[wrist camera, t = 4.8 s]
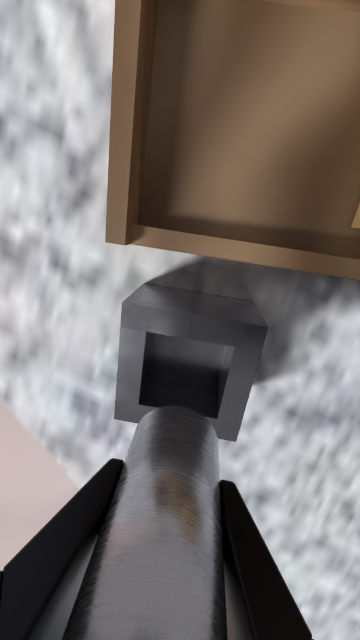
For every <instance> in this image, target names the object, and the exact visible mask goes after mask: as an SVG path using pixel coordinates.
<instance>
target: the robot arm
mask: <svg viewBox="0 0 360 640" xmlns="http://www.w3.org/2000/svg"><path fill="white" fill-rule="evenodd" d="M123 465H124V461H123V460H119V459H114V458H112V459H110V460H109V461H108V462H107V463H106V464H105V465H104V466H103V467H102V468H101V469H100V470H99V471H98V472H97V473H96V474H95V475H94V476H93V477H92V478H91V479H90V480H89V481H88V482H87V483H86V484H85V485H84V486H83V487H82V488H81V489H80V490H79V491H78V492H77V493H76V494H75V495H74V497H72V498H71V500H70V501H69V502H68V503H67V504H66V505H65V506H64V507H63V508H62V509H61V510H60V511H59V512H58V513H57V514H56V515H55V516H54V517H53V518H52V519H51V520H50V521H49V522H48V523H47V524H46V525H45V526H44V527H43V528H42V529H41V530H40V531H39V532H38V533H37V534H36V535H35V536H34V537H33V538H32V539H31V540H30V541H29V542H28V543H27V544H26V545H25V546H24V547H23V548H22V549H21V551H19V552H18V553H17V554H16V556H15V557H14V558H13V559H12V560H11V561H10V562H9V563H8V564H7V565H6V566H5V567H4V569H3V571H0V640H62V637H63V634H64V631H65V628H66V626H67V623H68V620H69V617H70V614H71V611H72V609H73V606H74V603H75V600H76V597H77V595H78V592H79V589H80V586H81V583H82V580H83V578H84V575H85V572H86V569H87V566H88V563H89V561H90V558H91V555H92V552H93V549H94V547H95V544H96V541H97V538H98V535H99V532H100V530H101V527H102V524H103V521H104V518H105V516H106V513H107V510H108V507H109V504H110V502H111V499H112V496H113V493H114V490H115V487H116V485H117V482H118V479H119V476H120V473H121V471H122V468H123ZM220 496H221V516H222V536H223V556H224V576H225V596H226V616H227V636H228V640H314V639H312V634H311V632H310V630H309V628H308V626H307V624H306V622H305V620H304V618H303V616H302V614H301V612H300V610H299V608H298V606H297V604H296V603H295V601H294V599H293V597H292V595H291V593H290V591H289V589H288V587H287V585H286V583H285V581H284V579H283V577H282V575H281V573H280V571H279V569H278V567H277V565H276V563H275V561H274V559H273V557H272V556H271V554H270V552H269V550H268V548H267V546H266V544H265V542H264V540H263V538H262V536H261V534H260V532H259V530H258V528H257V526H256V524H255V522H254V520H253V518H252V516H251V514H250V512H249V510H248V508H247V507H246V505H245V503H244V501H243V499H242V497H241V495H240V493H239V491H238V489H237V487H236V485H235V483H233V482H232V481H227V480H221V481H220Z"/></svg>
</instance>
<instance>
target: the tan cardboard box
mask: <svg viewBox="0 0 360 640" xmlns="http://www.w3.org/2000/svg"><path fill="white" fill-rule="evenodd" d="M351 228H357V229H360V203H359V206H358V209H357V212H356V215H355V217H354V220H353V223H352V226H351Z"/></svg>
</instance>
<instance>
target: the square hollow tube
mask: <svg viewBox="0 0 360 640" xmlns="http://www.w3.org/2000/svg"><path fill="white" fill-rule="evenodd" d="M267 330H268V325H267V324H266V322H265V321H264V319H263V318H262V316H261V314H260V313H259V311H258V310H257V308H256V306H255V305H254V303H253V302H252V301H247V300H241V299H235V298H229V297H222V296H216V295H210V294H204V293H198V292H192V291H186V290H180V289H174V288H168V287H161V286H155V285H149V284H143V285H141V286H140V287H139V288H138V289H137V290H136V291H135V292H134V293H132V294H131V295H130V296H129V297H128V298H127V299H126V300H124V301H123V302H122V313H121V327H120V342H119V356H118V371H117V386H116V400H115V415H114V419H117V420H123V421H128V422H133V423H139V422H140V420H141V419H142V418H143V417H144V416H145V415H146V414H147V413H149V412H150V411H152V410H154V409H157V408H159V407H164V406H181V407H186V408H189V409H192V410H194V411H196V412H198V413H200V414H201V415H203V416H204V417H205V418H207V419H208V421H209V422H210V423H211V424H212V426H213V427H214V429H215V431H216V434H217V438H219V439H224V440H229V441H235V442H236V440H237V436H238V433H239V429H240V426H241V422H242V419H243V415H244V411H245V408H246V404H247V401H248V397H249V394H250V390H251V387H252V383H253V380H254V376H255V373H256V369H257V366H258V362H259V358H260V355H261V351H262V348H263V344H264V341H265V337H266V334H267Z"/></svg>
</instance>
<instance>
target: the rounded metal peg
mask: <svg viewBox="0 0 360 640" xmlns="http://www.w3.org/2000/svg"><path fill="white" fill-rule="evenodd" d="M62 640H228V636H227V616H226V596H225V576H224V556H223V536H222V516H221V496H220V476H219V456H218V439H217V434H216V431H215V429H214V427H213V426H212V424H211V423H210V422H209V421H208V419H207V418H205V417H204V416H203V415H201V414H200V413H198V412H196V411H194V410H192V409H189V408H186V407H181V406H164V407H159V408H157V409H154V410H152V411H150V412H149V413H147V414H146V415H145V416H144V417H143V418H142V419H141V420H140V422H139V423H138V425H137V428H136V431H135V434H134V437H133V439H132V442H131V445H130V448H129V451H128V454H127V456H126V459H125V462H124V465H123V468H122V471H121V473H120V476H119V479H118V482H117V485H116V487H115V490H114V493H113V496H112V499H111V502H110V504H109V507H108V510H107V513H106V516H105V518H104V521H103V524H102V527H101V530H100V532H99V535H98V538H97V541H96V544H95V547H94V549H93V552H92V555H91V558H90V561H89V563H88V566H87V569H86V572H85V575H84V578H83V580H82V583H81V586H80V589H79V592H78V595H77V597H76V600H75V603H74V606H73V609H72V611H71V614H70V617H69V620H68V623H67V626H66V628H65V631H64V634H63V637H62Z"/></svg>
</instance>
